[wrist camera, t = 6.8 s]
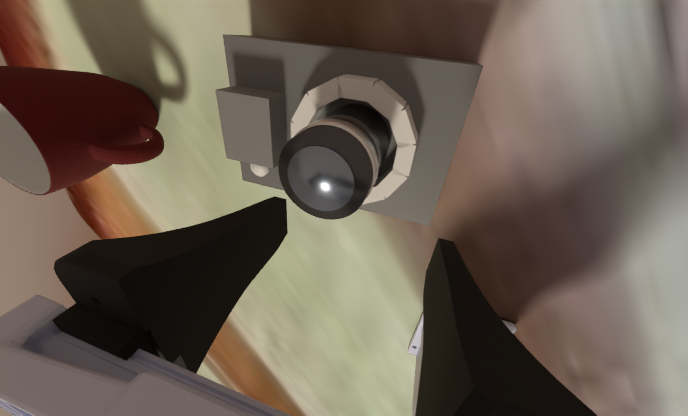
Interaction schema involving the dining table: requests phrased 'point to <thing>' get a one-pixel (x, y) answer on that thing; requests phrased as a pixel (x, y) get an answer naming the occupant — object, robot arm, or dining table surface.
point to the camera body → (341, 89)
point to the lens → (335, 161)
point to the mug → (70, 127)
